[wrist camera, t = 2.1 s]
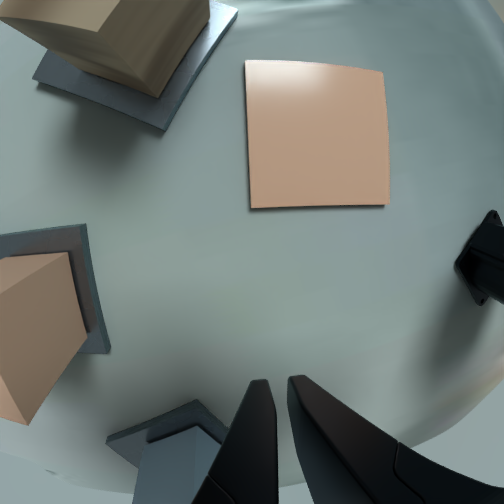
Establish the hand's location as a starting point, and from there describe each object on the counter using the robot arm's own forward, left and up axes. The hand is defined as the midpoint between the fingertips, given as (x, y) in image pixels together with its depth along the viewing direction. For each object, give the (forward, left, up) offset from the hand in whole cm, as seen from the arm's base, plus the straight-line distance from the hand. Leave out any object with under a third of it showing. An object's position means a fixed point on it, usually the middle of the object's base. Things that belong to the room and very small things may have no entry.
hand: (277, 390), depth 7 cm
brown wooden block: (+14, -6, -11) cm, 19 cm away
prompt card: (+2, -9, -12) cm, 15 cm away
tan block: (+9, +11, -11) cm, 18 cm away
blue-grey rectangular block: (-8, +16, -11) cm, 21 cm away
